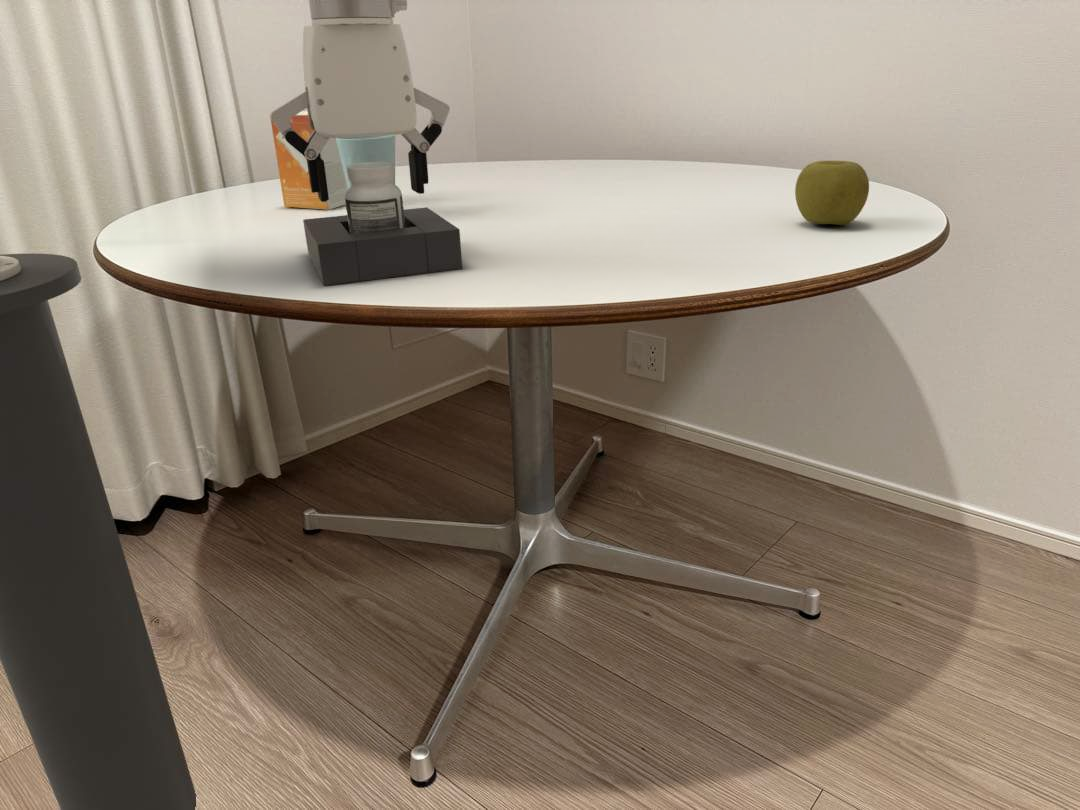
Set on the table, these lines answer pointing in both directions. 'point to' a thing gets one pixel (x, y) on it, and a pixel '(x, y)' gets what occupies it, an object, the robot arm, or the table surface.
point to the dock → (382, 248)
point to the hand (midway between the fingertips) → (371, 195)
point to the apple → (831, 192)
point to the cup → (366, 151)
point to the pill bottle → (373, 198)
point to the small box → (296, 169)
